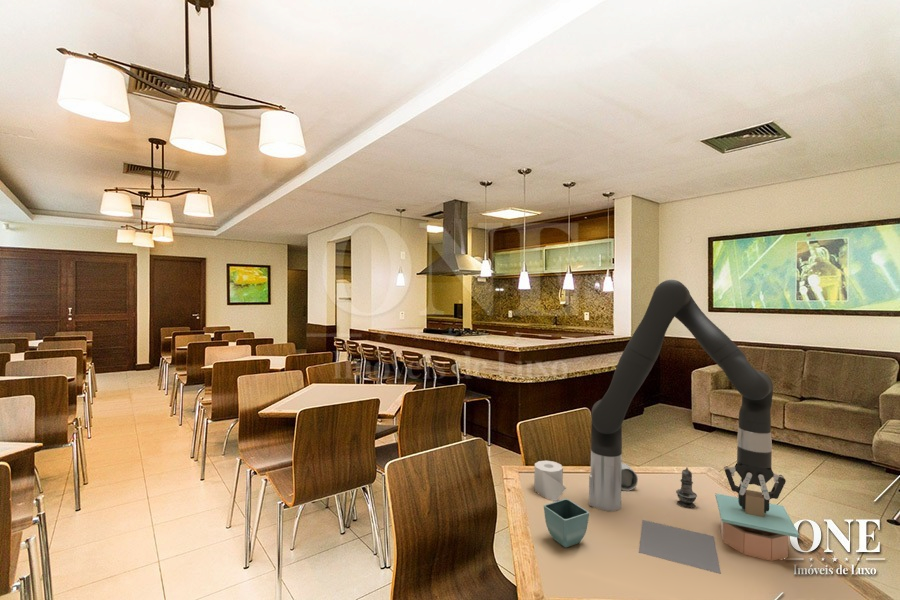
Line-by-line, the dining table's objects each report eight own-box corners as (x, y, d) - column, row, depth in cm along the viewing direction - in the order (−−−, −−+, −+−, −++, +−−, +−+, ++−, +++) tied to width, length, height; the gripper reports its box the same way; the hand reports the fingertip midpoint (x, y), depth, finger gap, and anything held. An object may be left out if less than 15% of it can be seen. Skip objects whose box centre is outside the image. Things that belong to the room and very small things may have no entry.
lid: (721, 521, 111) (722, 499, 111) (715, 496, 125) (715, 476, 125) (799, 538, 104) (799, 514, 103) (783, 508, 118) (783, 487, 118)
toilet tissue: (557, 505, 135) (557, 478, 135) (528, 488, 147) (529, 463, 146) (577, 497, 140) (577, 472, 140) (547, 482, 151) (548, 458, 151)
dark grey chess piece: (691, 500, 139) (692, 464, 139) (700, 509, 133) (701, 471, 133) (672, 499, 140) (673, 463, 139) (680, 508, 134) (681, 470, 134)
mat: (638, 554, 110) (638, 552, 110) (642, 521, 126) (642, 519, 126) (720, 575, 102) (720, 573, 102) (713, 537, 118) (713, 536, 118)
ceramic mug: (629, 481, 153) (629, 459, 153) (638, 491, 145) (638, 469, 145) (599, 480, 154) (599, 459, 154) (606, 490, 146) (606, 468, 146)
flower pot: (564, 554, 109) (565, 520, 109) (542, 537, 117) (542, 504, 117) (589, 545, 113) (590, 512, 113) (566, 529, 121) (566, 498, 121)
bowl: (724, 551, 111) (725, 528, 111) (719, 525, 124) (719, 505, 124) (791, 567, 105) (792, 543, 105) (778, 538, 117) (779, 517, 117)
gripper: (783, 446, 114) (782, 509, 114) (721, 437, 121) (720, 497, 121) (791, 455, 108) (790, 522, 108) (724, 446, 114) (723, 509, 114)
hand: (753, 509), depth 114 cm, fingers closed on lid, 4 cm apart
